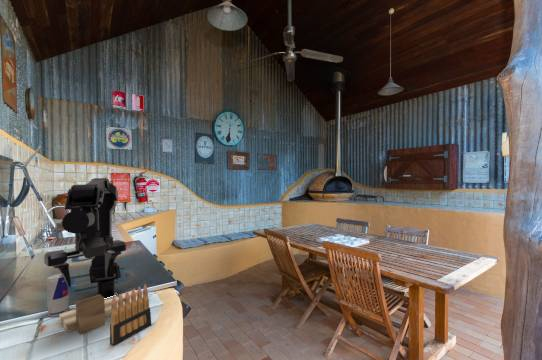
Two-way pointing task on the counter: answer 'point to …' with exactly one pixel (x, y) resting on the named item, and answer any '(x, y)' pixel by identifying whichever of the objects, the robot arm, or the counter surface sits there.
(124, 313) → the ammunition clip
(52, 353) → the counter surface
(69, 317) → the maple board
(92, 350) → the counter surface
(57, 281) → the energy drink
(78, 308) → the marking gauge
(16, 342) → the counter surface
